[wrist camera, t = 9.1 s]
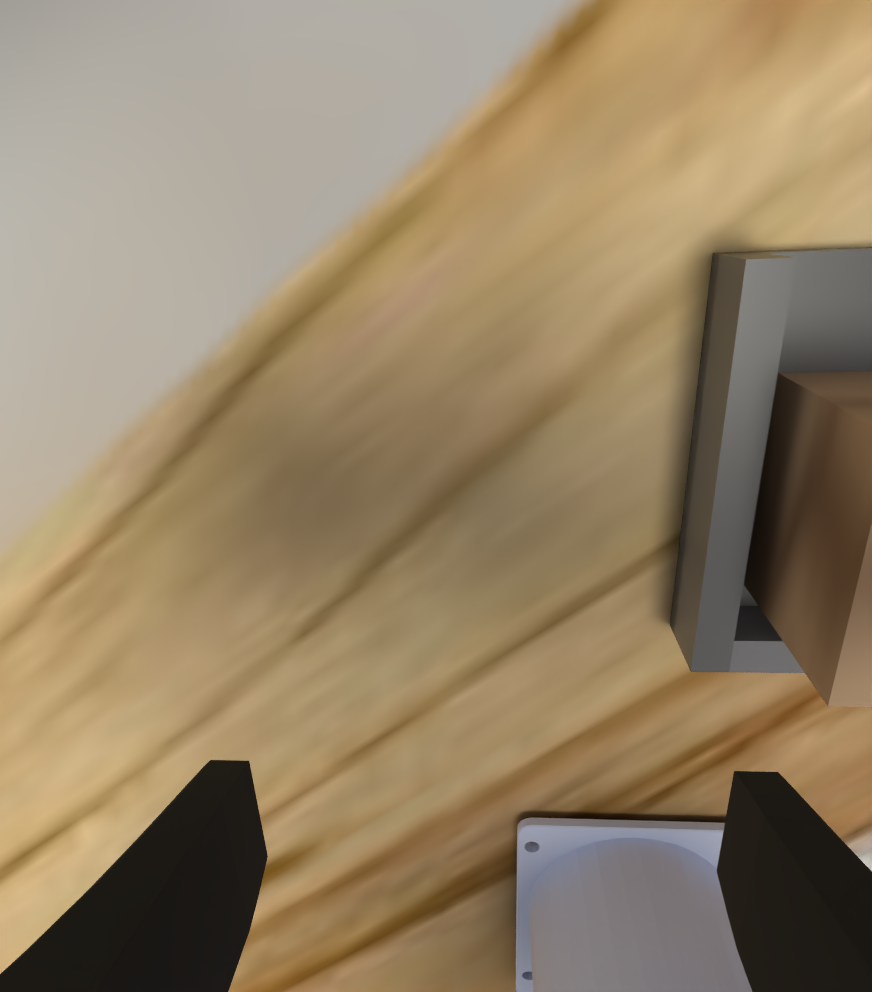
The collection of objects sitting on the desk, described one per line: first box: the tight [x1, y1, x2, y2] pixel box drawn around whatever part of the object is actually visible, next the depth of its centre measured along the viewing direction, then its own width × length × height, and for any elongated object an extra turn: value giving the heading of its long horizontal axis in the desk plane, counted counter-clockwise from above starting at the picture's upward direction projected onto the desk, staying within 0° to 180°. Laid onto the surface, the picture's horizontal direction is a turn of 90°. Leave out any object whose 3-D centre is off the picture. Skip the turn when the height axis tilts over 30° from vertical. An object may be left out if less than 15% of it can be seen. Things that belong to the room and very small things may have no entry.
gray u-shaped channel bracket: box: [670, 247, 872, 673], centre depth 17 cm, size 10×7×2 cm, turn 2°
